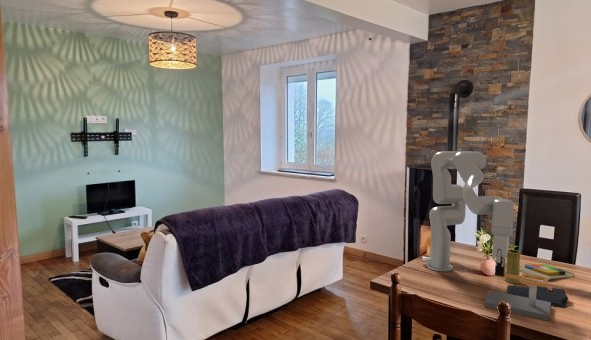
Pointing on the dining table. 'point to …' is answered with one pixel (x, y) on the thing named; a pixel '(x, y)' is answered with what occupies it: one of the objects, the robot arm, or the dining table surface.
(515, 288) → the dark slate chunk
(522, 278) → the link
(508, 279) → the vase
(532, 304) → the keeper board
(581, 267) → the dining table surface
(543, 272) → the wooden puzzle
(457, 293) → the dining table surface
